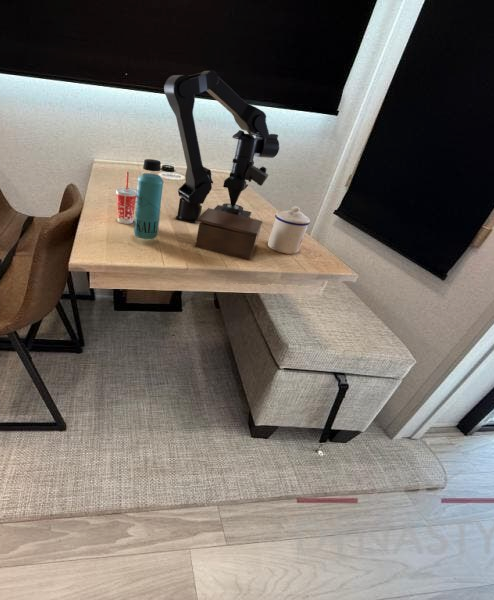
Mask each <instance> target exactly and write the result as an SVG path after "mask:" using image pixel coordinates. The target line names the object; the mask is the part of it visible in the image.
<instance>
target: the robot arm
mask: <svg viewBox="0 0 494 600" xmlns="http://www.w3.org/2000/svg"><path fill="white" fill-rule="evenodd" d="M163 90H164V94H165V97H166V100H167V103H168V105H169V107H170V109H171V111H172V113H173V114H174V116H175V118H176V123H177V128H178V132H179V137H180V141H181V147H182V151H183V156H184V160H185V164H186V171H185V176H184V177H185V178H184V179H185V182H184V183H183V184H182V185H181V186H180V187H179V188H178V189H177V193H178V197H179V202H178V208H177V209H178V210H177V215H176V216H175V220H178V221H183V222H188V223H192V224H195V223H197V222H198V221H197V218H198V217H199V216H200V215H201V214H202V209H203V206H202V204H204V202H205V200H206V199H207V197H208V195H209V194H210V192H211V191H212V189H213V187H212V186H213V184H214V181H213V179H212V171H211V169H209V168H207V167H206V166H204V165H203V160H202V156H201V149H200V144H199V139H198V134H197V127H196V123H195V117H194V108H195V101H196V95H198V94H201V93H204V92H207V93H208V94H209V95H210V96H211V97H212V98H214V99H215V100H216V101H217V102H218V103H219V104H220V105H221V106H222V107H224V108H225V110H227V112H229V113H230V114H231V115H232V117H233V118H234V121H235V123H236V124H237V126H238V128H240V129H239V130H238V131H237V132H236V133H234V134H233V135H232V139H235V140H237V144H236V150H235V154H234V158H232V168H231V171H230V173H229V176H228V177H227V178H225V179H224V180H223V185H222V187H223V188H225V189H227V191H228V196H229V202H230V204H231V206H233V207H234V206H235V205H237V202H238V200H239V198H240V196H241V194H242V192H243V191H244V190H246V189H247V187H249V184H247V181H248V183H251V182H252V181H253V182H255V183H256V184H257V185H258V186H260V187H261V186H263V185H264V183H265V182H266V180H267V179H268V177H269V174H268V173H267V168H266V167H265V166H261V167H260V168H259V167H256V166H255V159H254V157H256V158H264V159H265V158H266V159H267V158H268V159H274V158H275V157H276V156H277V155H278V153H279V152H280V141H279V138H278V137H279V135H278V134H277V133H270V132H269V128H268V126H267V114H266V113H265V112H264V111H263V110H261V109H260V108H258V107H257V106H254V105H252V104H250V103H248V102H246V101H245V100H244V99H243V98H242V97H240V95H238V94H237V92H235V91H234V90H233V89H232V88H231V86H229V85H228V84H227V83H226V82H225V81H224V80H223V79H222V78H221V77H220V76H219V75H218V73H217V72H216V71H214V70H204V71H202V72H199V73H195V74H190V75H186V74H173V75H170V76H168V78H167V79H166V81H165V84H164V85H163ZM245 132H246V133H245ZM254 136H255V137H254Z"/></svg>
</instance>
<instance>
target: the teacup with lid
mask: <svg viewBox="0 0 494 600" xmlns="http://www.w3.org/2000/svg"><path fill="white" fill-rule="evenodd" d="M300 210H301V209H300V207H299V206H295V205H294V206H292V207H291V209H286V210H282V211H281V210H280V211H278V212H276V214H275V215H274V221H273V225H272V228H271V231H270V235H269V238H268V241H267V245H268V247H269V248H270V249H271V250H273V251H276V252H278V253H282V254H289V255H291V254H292V255H293V254H294V255H295V254H297V253H299V251H300V248H301V246H302V243H303V240H304V237H305V235H306V232H307V229H308V226H309V225H310V223H311V220H310V218H309V217H308V216H306V215H305V214H304V213H303V212H301V211H300Z"/></svg>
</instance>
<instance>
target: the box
mask: <svg viewBox="0 0 494 600" xmlns="http://www.w3.org/2000/svg"><path fill="white" fill-rule="evenodd" d="M198 223H199V224H198V229H197V234H196V235H197V236H196V239H195V240H196V241H195V247H196V248H201V249H205V250H209V251H212V252H217V253H220V254H224V255H228V256H232V257H237V258H241V259H245V260H249V261H250V260H251V258H252V256H253V253H254V250H255V248H256V246H257V242H258V239H259V235H260V232H261V227H262V225H263V223H262V224H261V227H260V229H259V231H258V234H257V236H253V235H249V234H245V233H241V232H237V231H233V230H229V229H226V228H222V227H218V226H214V225H210V224H206V223H202V222H198Z"/></svg>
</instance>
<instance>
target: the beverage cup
mask: <svg viewBox="0 0 494 600" xmlns="http://www.w3.org/2000/svg"><path fill="white" fill-rule="evenodd" d="M129 175H130V172H129V171H126V184H125V185H126V186H125V187H118V188H116V190H115V192H116V208H117V209H116V211H117V213H116V214H117V222H118V223H120V224H125V225H127V224H133V223H134V218H135V210H136V199H137V197H136V196H137V193H136V192H137V189H135V188H130V187H129Z"/></svg>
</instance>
